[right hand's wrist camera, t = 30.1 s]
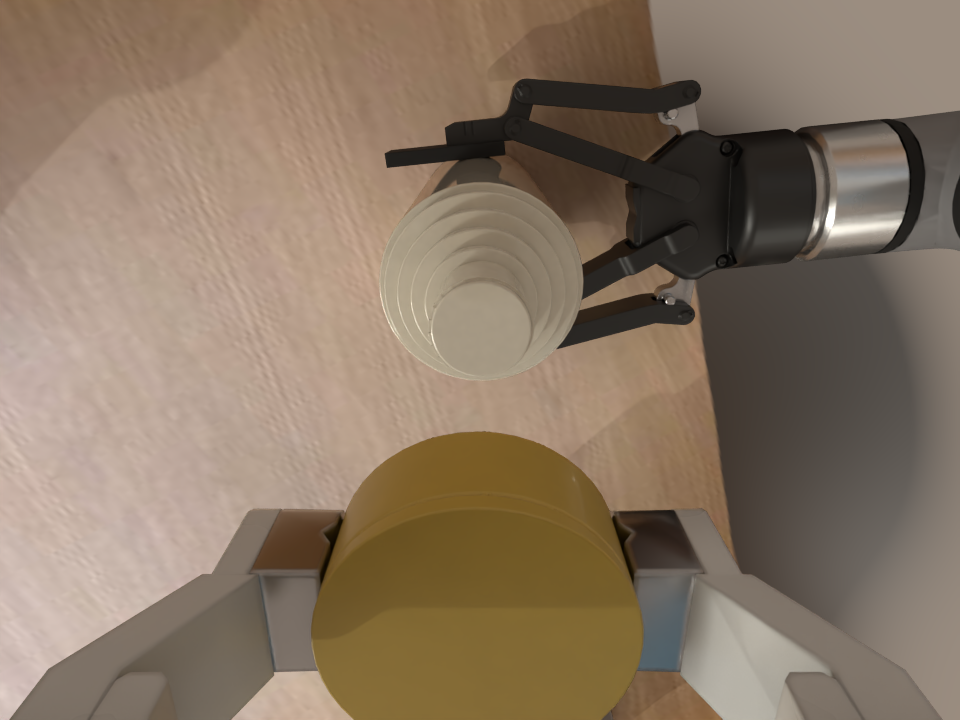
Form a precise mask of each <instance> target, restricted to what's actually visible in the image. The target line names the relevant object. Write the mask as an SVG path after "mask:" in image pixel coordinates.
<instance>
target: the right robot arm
mask: <svg viewBox="0 0 960 720" xmlns="http://www.w3.org/2000/svg"><path fill="white" fill-rule="evenodd" d="M610 514H611V517H612V521H613V524H614V527H615V530H616V533H617V536H618V539H619V543H620V546H621V549H622V552H623V555H624V558H625V561H626V565H627V568H628V571H629V574H630V577H631V580H632V583H633V587H634V590H635V593H636V596H637V599H638V602H639V605H640V609H641V612H642V619H643V626H644V639H643V649H642V654H641V659H640V663H639V666H638V668H637V671H662V672H681V673H680V675H681V676H682V677H683V678H684V679H685V680H686V681H687V682H688V683H689V684H690V685H691V686H692V688H693V689H694V690H695V691H696V692H697V693H698V694H699V695H700V696H701V697H702V698H703V699H704V700H705V701H706V702H707V703H708V704H709V705H710V706H711V707H712V708H713V709H714V710H715V711H716V712H717V714H718V715H719V716H720V717H721V718H722V719H723V720H942V718H941V717H940V716H939V714H938V713H937V712H936V710H935V709H934V708H933V706H932V705H931V704H930V702H929V701H928V700H927V698H926V697H925V696H924V694H923V693H922V692H921V690H920V689H919V688H918V686H917V685H916V684H915V682H914V681H913V680H912V678H911V677H910V676H909V674H908V673H907V672H906V670H904V669H903V668H901V667H900V666H898V665H896V664H895V663H893V662H891V661H890V660H888V659H887V658H885V657H884V656H882V655H880V654H879V653H877V652H876V651H874V650H872V649H871V648H869V647H867V646H866V645H864V644H863V643H861V642H859V641H858V640H856V639H855V638H853V637H851V636H850V635H848V634H847V633H845V632H843V631H842V630H840V629H839V628H837V627H835V626H834V625H832V624H831V623H829V622H827V621H826V620H824V619H823V618H821V617H819V616H818V615H816V614H815V613H813V612H811V611H810V610H808V609H807V608H805V607H803V606H802V605H800V604H799V603H797V602H795V601H794V600H792V599H791V598H789V597H787V596H786V595H784V594H782V593H781V592H779V591H778V590H776V589H774V588H773V587H771V586H770V585H768V584H766V583H765V582H763V581H762V580H760V579H758V578H757V577H755V576H754V575H752V574H742V573H741V571H740V569H739V567H738V566H737V564H736V562H735V560H734V559H733V557H732V555H731V553H730V552H729V550H728V548H727V546H726V545H725V543H724V541H723V539H722V538H721V536H720V534H719V532H718V531H717V529H716V527H715V525H714V524H713V522H712V520H711V518H710V517H709V515H708V513H707V511H705V510H703V509H702V508H698V509H671V510H640V511H610ZM344 516H345V512H344V510H313V509H283V510H282V509H252V510H251V511H249V512H248V513H247V514H246V516H245V517H244V519H243V521H242V522H241V524H240V526H239V528H238V529H237V531H236V533H235V535H234V536H233V538H232V540H231V542H230V543H229V545H228V547H227V548H226V550H225V552H224V554H223V555H222V557H221V559H220V561H219V562H218V564H217V566H216V567H215V569H214V571H213V573H212V574H202V575H200V576H199V577H197V578H195V579H194V580H192V581H191V582H189V583H187V584H186V585H184V586H182V587H181V588H179V589H178V590H176V591H174V592H173V593H171V594H169V595H168V596H166V597H165V598H163V599H161V600H160V601H158V602H156V603H155V604H153V605H152V606H150V607H148V608H147V609H145V610H143V611H142V612H140V613H139V614H137V615H135V616H134V617H132V618H130V619H129V620H127V621H126V622H124V623H122V624H121V625H119V626H117V627H116V628H114V629H113V630H111V631H109V632H108V633H106V634H105V635H103V636H101V637H100V638H98V639H96V640H95V641H93V642H92V643H90V644H88V645H87V646H85V647H83V648H82V649H80V650H79V651H77V652H75V653H74V654H72V655H70V656H69V657H67V658H66V659H64V660H62V661H61V662H59V663H57V664H56V665H54V666H53V667H51V668H49V669H48V670H47V672H46V673H45V674H44V675H43V677H42V678H41V679H40V681H39V682H38V683H37V685H36V686H35V687H34V688H33V690H32V691H31V692H30V694H29V695H28V696H27V698H26V699H25V700H24V701H23V703H22V704H21V705H20V707H19V708H18V709H17V711H16V712H15V713H14V714H13V716H12V717H11V718H10V720H231V719H232V718H233V717H234V716H235V715H236V714H237V713H238V712H239V711H240V710H241V709H242V708H243V707H244V706H245V705H246V704H247V703H248V702H249V701H250V700H251V699H252V697H253V696H254V695H255V694H256V693H257V692H258V691H259V690H260V689H261V688H262V687H263V686H264V685H265V684H266V683H267V682H268V681H269V680H270V679H271V678H272V677H273V676H274V672H292V671H318V669H317V666H316V664H315V659H314V655H313V650H312V644H311V624H312V616H313V611H314V607H315V604H316V601H317V598H318V594H319V591H320V588H321V585H322V583H323V579H324V576H325V573H326V570H327V567H328V564H329V561H330V558H331V555H332V552H333V549H334V546H335V543H336V540H337V537H338V534H339V531H340V528H341V525H342V522H343V519H344Z"/></svg>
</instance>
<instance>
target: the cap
mask: <svg viewBox="0 0 960 720" xmlns="http://www.w3.org/2000/svg"><path fill="white" fill-rule="evenodd" d="M643 639H644V626H643V619H642V612H641V609H640V605H639V602H638V599H637V596H636V593H635V590H634V587H633V583H632V580H631V577H630V574H629V571H628V568H627V565H626V561H625V558H624V555H623V552H622V549H621V546H620V543H619V539H618V536H617V533H616V530H615V527H614V524H613V521H612V517H611V514H610V511H609V509H608V507H607V505H606V503H605V501H604V499H603V497H602V495H601V493H600V492H599V491H598V489H597V488H596V486H595V485H594V483H593V482H592V481H591V480H590V479H589V478H588V477H587V476H586V475H585V474H584V473H583V472H582V470H581V469H579V468H578V467H577V466H576V465H574V464H573V463H572V462H570V461H569V460H568V459H567V458H565V457H563V456H562V455H560V454H558V453H557V452H555V451H553V450H552V449H550V448H547V447H546V446H544V445H541V444H540V443H536V442H534V441H531V440H527V439H524V438H521V437H517V436H513V435H507V434H502V433H494V432H485V431H484V432H461V433H454V434H448V435H442V436H438V437H433V438H431V439H427V440H425V441H421V442H419V443H417V444H415V445H412V446H410V447H408V448H406V449H404V450H402V451H400V452H399V453H397V454H395V455H394V456H392V457H390V458H389V459H387V460H386V461H385V462H383V463H382V464H381V465H380V466H379V467H377V468H376V469H375V470H374V471H373V472H372V473H371V474H370V475H369V476H368V477H367V478H366V479H365V480H364V481H363V483H362V484H361V485H360V487H359V488H358V490H357V491H356V493H355V494H354V496H353V498H352V500H351V502H350V504H349V506H348V508H347V510H346V513H345V516H344V519H343V522H342V525H341V528H340V531H339V534H338V537H337V540H336V543H335V546H334V549H333V552H332V555H331V558H330V561H329V564H328V567H327V570H326V573H325V576H324V579H323V583H322V585H321V588H320V591H319V594H318V598H317V601H316V604H315V607H314V611H313V616H312V624H311V644H312V650H313V655H314V659H315V664H316V666H317V669H318V671H319V674H320V676H321V679H322V681H323V682H324V684H325V686H326V688H327V689H328V691H329V693H330V694H331V695H332V697H333V698H334V699H335V700H336V702H337V703H338V704H339V705H340V707H341V708H342V709H343V710H344V711H345V712H346V713H347V714H348V715H349V716H350V717H352V718H353V719H354V720H601V719H603V718H604V717H605V716H606V715H607V714H608V713H609V712H610V711H611V710H612V709H613V708H614V707H615V706H616V704H617V703H618V702H619V700H620V699H621V698H622V697H623V695H624V694H625V693H626V691H627V689H628V687H629V686H630V684H631V682H632V681H633V679H634V676H635V674H636V671H637V668H638V666H639V663H640V659H641V654H642V649H643Z"/></svg>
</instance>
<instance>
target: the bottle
mask: <svg viewBox="0 0 960 720" xmlns="http://www.w3.org/2000/svg"><path fill="white" fill-rule="evenodd" d="M379 287H380V297H381V302H382V307H383V310H384V313H385V316H386V318H387V321H388V323H389V325H390V327H391V329H392V331H393V332H394V334H395V335H396V337H397V338H398V340H399V341H400V342H401V343H402V344H403V346H404V347H405V348H406V349H407V350H408V351H409V352H410V353H411V354H412V355H413V356H415V357H416V358H417V359H418V360H420V361H421V362H423V363H424V364H425V365H427V366H429V367H431V368H432V369H434V370H436V371H438V372H441V373H443V374H446V375H449V376H452V377H456V378H460V379H466V380H474V381H489V380H497V379H503V378H507V377H511V376H514V375H517V374H519V373H522V372H524V371H526V370H528V369H530V368H532V367H534V366H536V365H537V364H539V363H540V362H541V361H543V360H544V359H546V358H547V357H548V356H549V355H550V354H551V353H552V352H554V351H555V350H556V348H557V347H558V346H559V345H560V344H561V343H562V342H563V340H564V339H565V337H566V336H567V334H568V333H569V331H570V330H571V328H572V326H573V324H574V322H575V320H576V317H577V314H578V311H579V308H580V305H581V300H582V295H583V268H582V263H581V258H580V254H579V251H578V249H577V246H576V243H575V241H574V239H573V237H572V235H571V233H570V231H569V230H568V228H567V227H566V226H565V224H564V223H563V221H562V220H561V219H560V217H559V216H558V214H557V213H556V211H555V210H554V209H553V207H552V206H551V204H550V203H549V202H548V200H547V199H546V197H545V196H544V195H543V193H542V192H541V190H540V189H539V188H538V186H537V185H536V183H535V182H534V181H533V179H532V178H531V176H530V175H529V174H528V172H527V171H526V170H525V169H524V168H523V167H522V166H521V165H520V164H519V163H518V162H517V161H515V160H514V159H512V158H511V157H509V156H507V155H504V156H494V157H485V158H475V159H466V160H456V161H447V162H444V163H443V164H442V165H441V166H440V167H439V168H438V169H437V170H436V171H435V172H434V174H433V175H432V176H431V178H430V179H429V181H428V182H427V184H426V185H425V186H424V188H423V189H422V191H421V192H420V194H419V195H418V196H417V198H416V199H415V201H414V202H413V204H412V205H411V206H410V208H409V209H408V211H407V212H406V214H405V215H404V216H403V218H402V219H401V221H400V222H399V223H398V225H397V226H396V228H395V229H394V231H393V233H392V234H391V236H390V238H389V240H388V242H387V245H386V248H385V250H384V253H383V257H382V261H381V266H380V276H379Z"/></svg>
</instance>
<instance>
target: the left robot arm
mask: <svg viewBox="0 0 960 720" xmlns="http://www.w3.org/2000/svg"><path fill="white" fill-rule="evenodd" d="M700 94H701V88H700V85H699V84H698V83H697V82H696V81H694V80H687V81H679V82H673V83H670V84H666V85H663V86H659V87H656V88H653V89H643V88H631V87H619V86H607V85H596V84H584V83H572V82H560V81H548V80H537V79H522V80H520V81H518V82H517V83H515V85H514V86H513V89H512V93H511V97H510V101H509V105H508V108H507V110H506V112H505V113H504V114H503V115H502V116H500V117H497V118H490V119H480V120H471V121H462V122H454V123H452V124H451V125H449V126H447V127H445V132H446V141H447V144H445V145H436V146H426V147H417V148H407V149H398V150H391V151H389V152H387V153H385V159H386V165H387V168H390V167H399V166H409V165H418V164H428V163H437V162H447V161H456V160H466V159H475V158H485V157H494V156H504V155H505V145H504V141H509V140H514V141H517V142H520V143H523V144H526V145H528V146H531V147H534V148H537V149H540V150H543V151H546V152H549V153H551V154H554V155H557V156H560V157H563V158H566V159H569V160H572V161H574V162H577V163H580V164H583V165H586V166H589V167H592V168H594V169H597V170H600V171H603V172H606V173H609V174H612V175H615V176H617V177H620V178H623V179H625V180H628V181H629V182H628V184H625V187H626V200H627V203H628V207H629V214H628V218H627V222H626V236H627V237H628V238H626V239H624V240H622V241H620V242H618V243H617V244H615V245H614V246H613V247H612V248H611V249H610V250H608V251H607V252H605V253H603V254H601V255H599V256H597V257H595V258H594V259H592V260H590V261H588V262H586V263H584V264H583V265H582V268H583V295H582V299H584V298H586V297H588V296H590V295H592V294H594V293H595V292H597V291H599V290H601V289H603V288H605V287H607V286H609V285H611V284H612V283H614V282H616V281H618V280H620V279H622V278H624V277H626V276H628V275H634V274H637V273H639V272H641V271H643V270H645V269H647V268H648V267H650V266H652V265H654V264H658V265H659V266H661V267H663V268H664V269H666V270H667V271H669V272H671V273H672V274H674V275H675V276H674V278H673V280H672V281H671V282H669V283H667V284H663V285H660V286H658V287H657V288H656V289H655V291H654V293H648V294H640V295H635V296H631V297H628V298H624V299H620V300H617V301H613V302H609V303H605V304H602V305H598V306H594V307H591V308H587V309H583V310H579V311H578V314H577V317H576V320H575V322H574V324H573V326H572V328H571V330H570V331H569V333H568V334H567V336H566V337H565V339H564V340H563V342H562V343H561V344H560V345H559V346H558V347H557V348H556V349H559V348H563V347H567V346H570V345H574V344H578V343H582V342H586V341H589V340H593V339H597V338H601V337H605V336H608V335H612V334H616V333H620V332H624V331H627V330H631V329H635V328H639V327H642V326H646V325H650V324H654V323H663V324H677V325H686V324H689V323H691V322H692V321H693V319H694V317H695V312H694V309H693V308H692V307H691V306H690V303H691V298H692V293H693V288H694V283H695V280H696V279H699V278H701V277H702V276H704V275H705V274H707V273H709V272H711V271H714V270H717V269H728V268H739V267H749V266H759V265H769V264H779V263H787V262H789V261H791V260H792V259H793V258H795V259H797V260H799V261H812V260H821V259H830V258H839V257H848V256H857V255H866V254H877V253H886V252H896V251H909V250H921V249H934V248H944V249H954V250H958V251H960V111H954V112H946V113H938V114H930V115H923V116H915V117H907V118H899V119H881V120H868V121H859V122H848V123H838V124H829V125H818V126H809V127H803V128H800V129H799V130H797V131H796V132H793V131H791V130H788V129H779V130H770V131H760V132H751V133H741V134H731V135H722V136H714V135H711V134H708V133H707V132H705V131H702V130H699V124H698V117H697V110H696V103H695V102H696V101H697V100H698V99H699V97H700ZM533 105H545V106H557V107H569V108H581V109H593V110H605V111H617V112H629V113H654V117H655V120H656V121H657V122H658V123H659V124H662V125H671V126H673V127H674V128H675V130H676V132H677V134H676V135H675V136H674V137H673V138H672V139H671V140H669V141H668V142H667V143H666V144H665V145H664V146H662V147H661V148H660V149H659V150H658V151H657V152H655V153H654V154H653V155H652V156H651V157H650V158H648V159H647V160H646V161H642V160H639V159H636V158H634V157H631V156H628V155H625V154H622V153H619V152H617V151H614V150H611V149H608V148H605V147H602V146H600V145H597V144H594V143H591V142H588V141H585V140H583V139H580V138H577V137H574V136H571V135H568V134H566V133H563V132H560V131H557V130H554V129H551V128H549V127H546V126H543V125H540V124H537V123H535V122H532V121H529V117H530V113H531V110H532V106H533ZM601 720H613V716H612V712H611V711H610V712H609V713H608V714H607V715H606V716H605V717H604V718H603V719H601Z"/></svg>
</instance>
